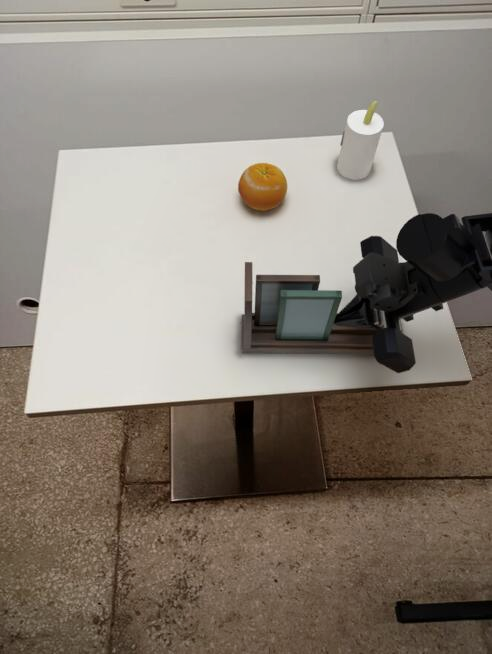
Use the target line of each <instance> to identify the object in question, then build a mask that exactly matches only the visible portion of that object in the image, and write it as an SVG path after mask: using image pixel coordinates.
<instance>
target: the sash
mask: <svg viewBox="0 0 492 654" xmlns="http://www.w3.org/2000/svg"><path fill="white" fill-rule="evenodd" d="M342 299H343V291H342V290H321V289H320V290H319V289H318V290H281V292H280V300H279V309H278V317H277V325H276V333H275V341H328V338H329V335H330V332H331V329H332V326H333V323H334V320H335V317H336V314H337V313H338V312H339V308H340V305H341V302H342Z"/></svg>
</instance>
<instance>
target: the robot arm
mask: <svg viewBox="0 0 492 654" xmlns="http://www.w3.org/2000/svg"><path fill="white" fill-rule="evenodd" d="M460 220H461V221H460ZM395 244H396V245H395V247H394V246H393V245H392V244H390V243H389V242H388V241H387V240H386V239H385V238H383V237H382V236H380V235H370V236H368V237H366V238H364V239H362V240H361V241H360V242H359V245H360V251H361V258H362V259H361V260H359V262H358V263H356V264H355V265H354V266H353V267H352V273H353V274H354V280H355V282H354V290H355V294H356V295H355V296H354V297H353V298H352V299H351V300H350V301H349V302H348V303H347V304H346V305H345V306H344V307H343V308H342V309H341V310H340V311H338V312H337V313H338V314H337V315H336V317H335V320H334V323H333V324H335V325H336V326H350V327H366V328H373V329H376V330H377V331H376V333H375V334H374V336H373V337H372V341H373V349H374V354H373V357H374V359H375V361H376V362H377V363H378V364H380V365H381V366H384V367H385V368H388V369H389V370H391V371H393V372H395V373H396V374H403V373H406V372H408V371H410V370H411V369H412V368H413V367H414V366H415V365H416V363H417V362H416V356H415V349H414V343H413V339H412V338H410V337H409V336H407V335H406V334H405V333H404V332H403V333H401V332H400V330H401V329H402V330H403V327H402V328H401V325H402V321H401V322H400V319H401V320H403V321H405V322H406V323H408V322H411V321H414V320H415V317H414V315H416V314H419V313H420V312H421V313H422V312H424V311H426V310H428V309H432V310H434V311H435V312H438V311H441V310H443V309H444V305H443V304H445V303H447V302H450V301H454V300H455V299H458V298H461V297H464V296H467V295H469V294H472V293H475V292H477V291H480V290H483V289H486V288H488V289H489V290H490V291H491V292H492V212H489V213H488V212H487V213H481V214H480V213H479V214H472V215H465V216H463V217H461V218H459V217H458V216H457V215H456V214H455V213H451V214H448V215H447V216H445V217H442V216H440V215H439V214H436V213H433V212H432V213H431V212H426V213H418V214H416V215H414V216H412V217H411V218H410V219H408V220H407V221H406V222H405V223H404V224H403V225H402V226H401V229H400V230H399V232H398V234H397V237H396V243H395ZM399 256H400V257H401V258H402V259H404V260H405V261H404V262H400V260H399V259H400V258H399Z"/></svg>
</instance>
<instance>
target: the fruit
mask: <svg viewBox="0 0 492 654" xmlns="http://www.w3.org/2000/svg"><path fill="white" fill-rule="evenodd" d="M237 189H238V193H239V196H240V198H241V200H242V201H243V203H244V204H245V205H247V206H248V207H249V208H251V209H253V210H256V211H261V212H265V211H269V210H272V209H274V208H276V207H278V206H279V205H280V204H281V203H282V202H283V201H284V200H285V197H286V195H287V191H288V180H287V177H286V176H285V174H284V172H283V171H282V169H281V168H280V167H278V166H276V165H274V164H271V163H267V162H258V163H255V164H252V165H250V166H248V167H247V168H245V170H244V171H243V172H242V174H241V176H240V177H239V180H238V185H237Z"/></svg>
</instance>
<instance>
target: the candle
mask: <svg viewBox="0 0 492 654" xmlns="http://www.w3.org/2000/svg"><path fill="white" fill-rule="evenodd" d="M377 104H378V101H377V100H376V99H375V100H374V101H373V102H372V103H371V104H370V105H369V107H368V109H358V110H354V111H353V112H351V113H350V114H349V115H348V116H347V119H346V124H345V129H344V130H343V132H342V136H341V141H340V151H339V155H338V159H337V167H336V168H337V172H338V173H339V174H340V175H341V176H342V177H343V178H345V179H347V180H352V181H359V180H363V179H365V178H367V176H369V175H370V172H371V169H372V166H373V163H374V159H375V156H376V153H377V149H378V146H379V141H380V139H381V136H382V132H383V129H384V127H385V126H384V125H385V123H384V119H383V118H382V116H381V115H380V114H378V113H377V112H375V111H376V108H377Z"/></svg>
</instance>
